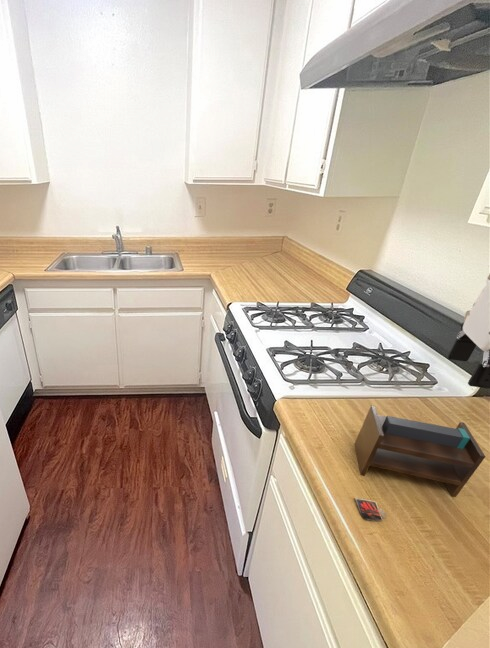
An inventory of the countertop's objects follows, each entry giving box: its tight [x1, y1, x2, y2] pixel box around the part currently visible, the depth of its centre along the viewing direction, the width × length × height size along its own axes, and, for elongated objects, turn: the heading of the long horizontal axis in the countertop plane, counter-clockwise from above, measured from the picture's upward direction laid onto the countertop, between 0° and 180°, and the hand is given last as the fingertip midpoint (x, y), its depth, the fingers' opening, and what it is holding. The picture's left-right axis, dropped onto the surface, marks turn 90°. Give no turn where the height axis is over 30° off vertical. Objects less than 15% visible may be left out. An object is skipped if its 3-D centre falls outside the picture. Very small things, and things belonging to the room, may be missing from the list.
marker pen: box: [382, 415, 470, 449], centre depth 67 cm, size 13×3×3 cm, turn 72°
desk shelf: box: [354, 405, 486, 498], centre depth 70 cm, size 17×10×11 cm, turn 72°
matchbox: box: [353, 497, 387, 522], centre depth 64 cm, size 5×5×1 cm
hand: (467, 372), depth 62 cm, fingers open, 9 cm apart
